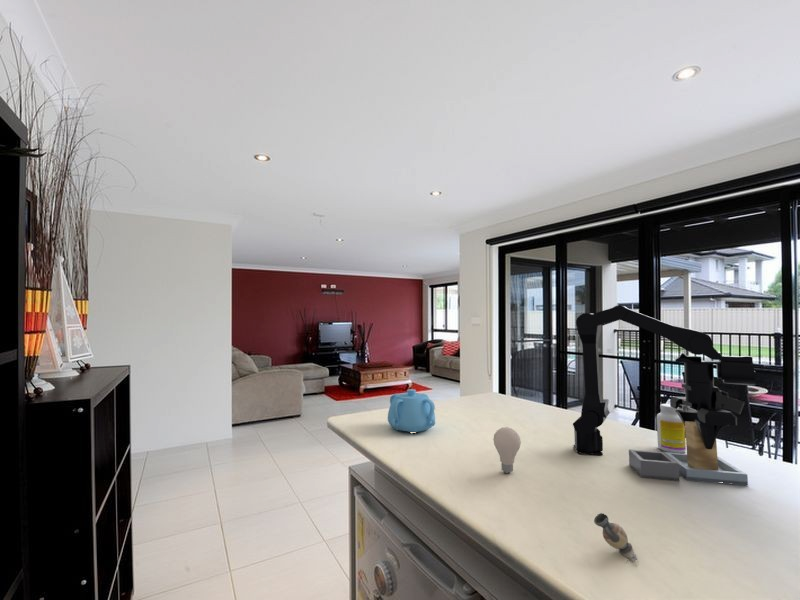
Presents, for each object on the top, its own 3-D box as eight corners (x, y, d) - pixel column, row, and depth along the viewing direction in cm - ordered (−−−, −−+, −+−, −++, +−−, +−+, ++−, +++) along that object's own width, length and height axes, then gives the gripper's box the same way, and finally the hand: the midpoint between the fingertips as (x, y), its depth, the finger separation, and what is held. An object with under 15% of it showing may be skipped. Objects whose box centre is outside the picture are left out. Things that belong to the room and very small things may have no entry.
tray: (687, 480, 89) (686, 469, 89) (664, 461, 100) (664, 452, 100) (747, 485, 86) (747, 474, 86) (717, 466, 97) (717, 456, 97)
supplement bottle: (690, 455, 106) (689, 408, 106) (664, 453, 107) (662, 407, 108) (678, 447, 112) (676, 403, 113) (653, 445, 113) (652, 402, 114)
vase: (600, 561, 59) (597, 520, 59) (591, 544, 64) (589, 506, 65) (639, 566, 57) (635, 524, 58) (627, 548, 62) (624, 510, 63)
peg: (696, 472, 91) (693, 426, 92) (687, 465, 96) (684, 421, 96) (718, 473, 90) (715, 426, 91) (708, 466, 95) (705, 422, 95)
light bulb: (521, 469, 95) (521, 425, 95) (521, 479, 89) (520, 432, 89) (494, 466, 97) (494, 422, 98) (492, 476, 91) (491, 429, 91)
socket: (641, 477, 90) (640, 460, 90) (629, 465, 98) (628, 449, 98) (679, 481, 88) (678, 463, 88) (664, 468, 96) (663, 452, 96)
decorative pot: (385, 436, 123) (385, 393, 123) (389, 422, 139) (389, 385, 139) (435, 437, 122) (435, 394, 123) (433, 423, 138) (433, 385, 139)
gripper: (763, 389, 83) (767, 461, 82) (715, 377, 101) (718, 436, 100) (705, 387, 86) (707, 456, 85) (668, 375, 104) (670, 433, 103)
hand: (701, 444), depth 93 cm, fingers open, 6 cm apart
